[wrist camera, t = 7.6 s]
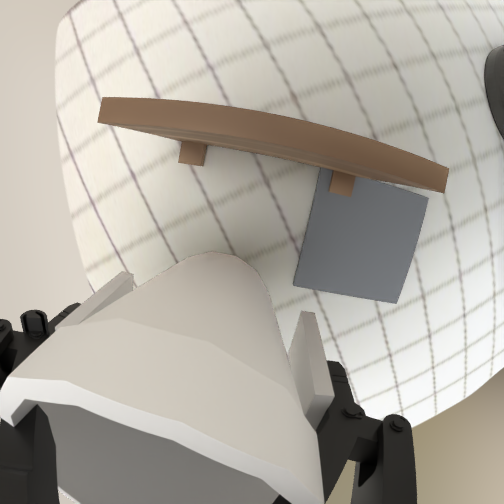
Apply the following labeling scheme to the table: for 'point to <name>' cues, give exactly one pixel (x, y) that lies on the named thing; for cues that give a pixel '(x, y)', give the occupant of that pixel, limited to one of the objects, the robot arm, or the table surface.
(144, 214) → the table surface
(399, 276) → the mat
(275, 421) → the foam cup
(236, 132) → the screen
